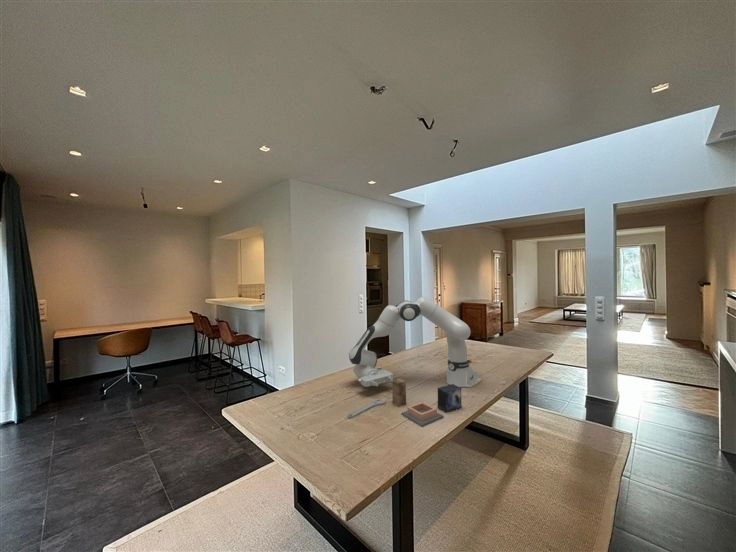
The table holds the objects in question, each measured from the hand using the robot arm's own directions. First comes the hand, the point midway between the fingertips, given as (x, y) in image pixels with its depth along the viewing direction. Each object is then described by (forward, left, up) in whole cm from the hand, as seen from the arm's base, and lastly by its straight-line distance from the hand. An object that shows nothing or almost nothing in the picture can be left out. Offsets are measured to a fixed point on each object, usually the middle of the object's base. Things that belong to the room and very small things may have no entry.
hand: (385, 382), depth 163 cm
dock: (0, +29, -7) cm, 30 cm away
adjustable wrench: (+17, +6, -8) cm, 20 cm away
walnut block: (0, +12, -7) cm, 14 cm away
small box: (-17, +31, -8) cm, 36 cm away
